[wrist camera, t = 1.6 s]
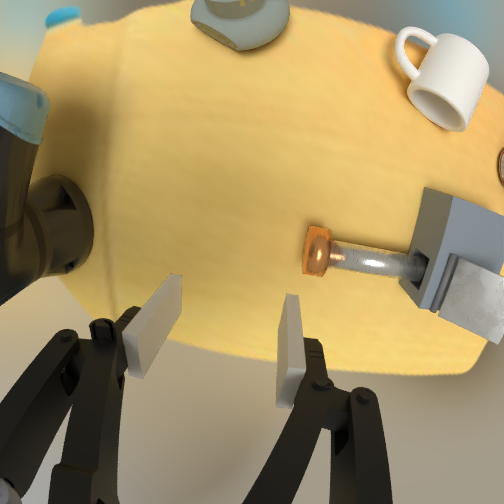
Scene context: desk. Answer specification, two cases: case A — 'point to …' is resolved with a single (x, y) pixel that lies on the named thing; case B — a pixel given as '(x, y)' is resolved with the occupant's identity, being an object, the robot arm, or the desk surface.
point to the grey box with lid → (452, 244)
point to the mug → (444, 78)
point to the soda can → (501, 167)
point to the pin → (357, 258)
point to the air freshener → (241, 21)
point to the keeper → (476, 301)
